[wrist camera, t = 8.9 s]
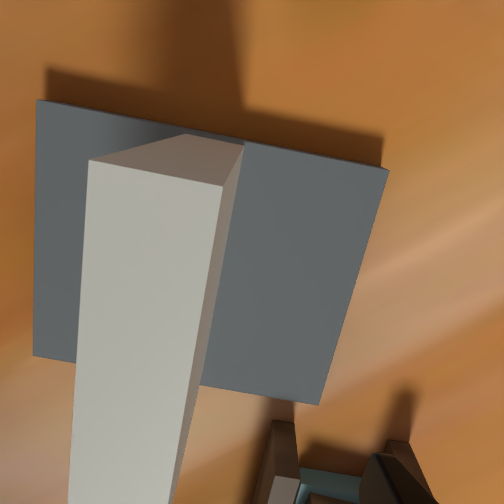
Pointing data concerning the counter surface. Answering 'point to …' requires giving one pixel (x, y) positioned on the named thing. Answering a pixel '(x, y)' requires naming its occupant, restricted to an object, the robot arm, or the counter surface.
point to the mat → (236, 252)
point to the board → (146, 312)
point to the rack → (287, 467)
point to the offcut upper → (324, 499)
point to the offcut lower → (327, 485)
